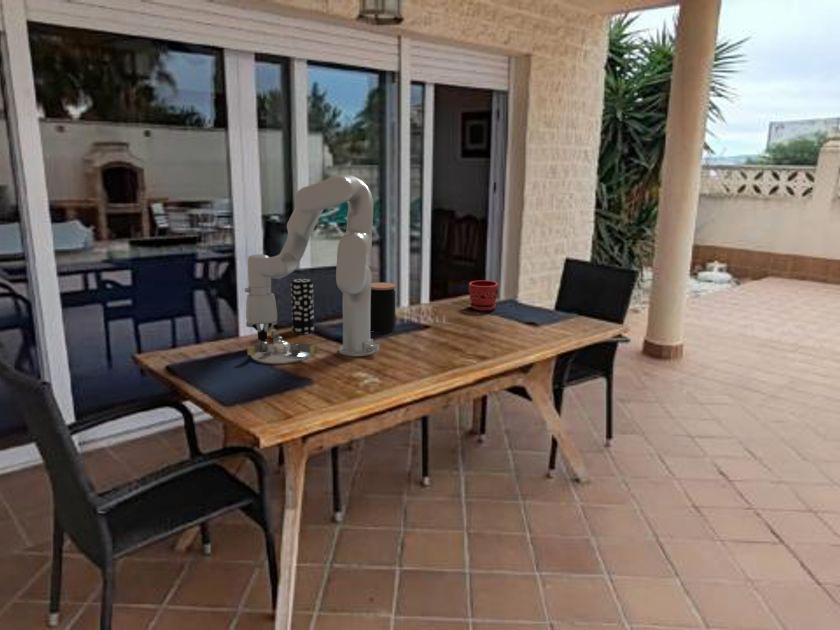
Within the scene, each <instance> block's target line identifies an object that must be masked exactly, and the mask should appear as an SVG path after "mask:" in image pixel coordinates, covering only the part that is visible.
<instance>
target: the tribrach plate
mask: <svg viewBox="0 0 840 630" xmlns="http://www.w3.org/2000/svg"><path fill="white" fill-rule="evenodd" d="M290 344H291V343H289V341H288V340H285V339H282V340H278V341H275V342H274V343H273V342H272V343H270V344H268V351H267V352H257V353H255V355H253V356H252V355H250V358H251V360H252V359H253V361H254V360H255V361H254V362H256V363H258V364H259V363H260V364H264V365H287V364H288V365H290V364H295V363H299V362H302V361H305V360H307V359H309V358H310V357H311V356H312V354H310V353H307V352H301V351H300V353H299V354H291V347H290ZM273 345H274V346H273Z"/></svg>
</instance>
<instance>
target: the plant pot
mask: <svg viewBox="0 0 840 630" xmlns="http://www.w3.org/2000/svg"><path fill="white" fill-rule="evenodd" d="M498 291H499V283H498V282H497V281H493V280H485V279H484V280H473V281H470V282H469V283H468V295H469V300H470V302H471V303H469V304H470V307H471V308H472V309H474V310H477V311H483V312H484V311H486V312H487V311H492V310H494V309H495V308H496V306H497V304H496V303H495V302H496V301H497V298H498V293H499V292H498Z"/></svg>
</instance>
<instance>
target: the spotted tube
mask: <svg viewBox="0 0 840 630" xmlns="http://www.w3.org/2000/svg"><path fill="white" fill-rule="evenodd" d="M290 299H291V303H290V304H291V329H292V332H291V333H292V334H295V335H296V334H297V335H309V334H313V333H315V312H314V311H315V309H314V280H313V279H312V278H294V279H293V278H292V279H291V280H290Z"/></svg>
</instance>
